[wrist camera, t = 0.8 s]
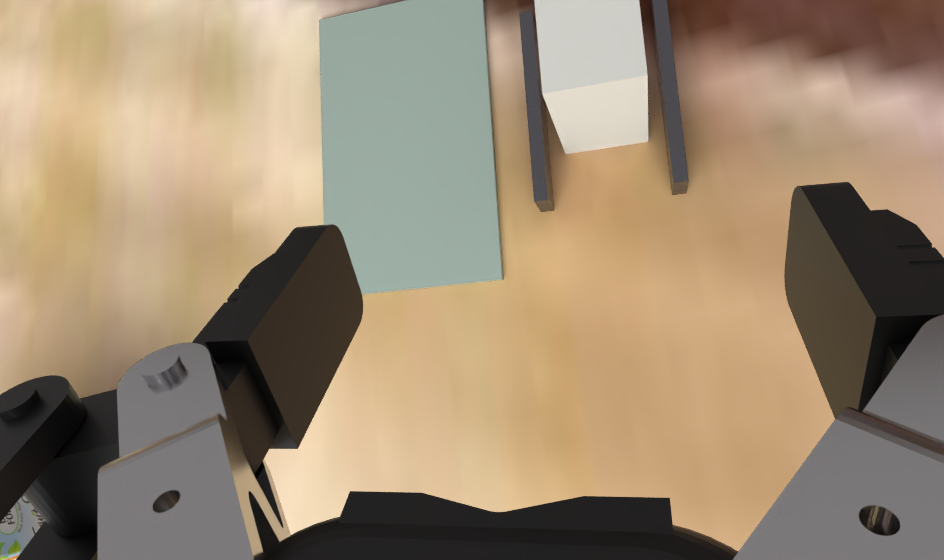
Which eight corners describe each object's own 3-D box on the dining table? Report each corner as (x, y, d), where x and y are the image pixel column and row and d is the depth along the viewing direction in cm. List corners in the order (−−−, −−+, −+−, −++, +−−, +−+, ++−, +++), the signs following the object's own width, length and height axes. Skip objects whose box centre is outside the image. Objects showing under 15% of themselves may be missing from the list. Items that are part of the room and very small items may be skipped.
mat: (483, -14, 43) (481, -17, 43) (503, 279, 40) (502, 278, 40) (321, 23, 46) (319, 20, 46) (328, 297, 43) (325, 297, 43)
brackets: (663, 5, 40) (664, -18, 37) (686, 193, 38) (688, 181, 35) (526, 33, 42) (519, 13, 39) (541, 212, 40) (534, 201, 37)
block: (639, 64, 40) (636, -22, 31) (648, 141, 39) (647, 75, 30) (559, 79, 41) (534, 0, 32) (565, 154, 40) (542, 93, 31)
